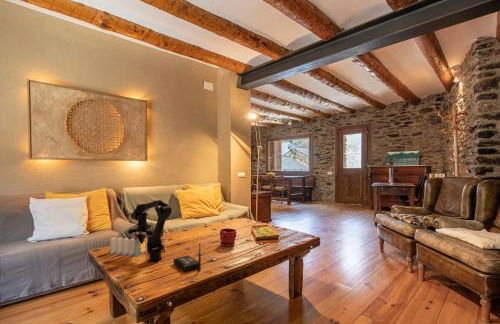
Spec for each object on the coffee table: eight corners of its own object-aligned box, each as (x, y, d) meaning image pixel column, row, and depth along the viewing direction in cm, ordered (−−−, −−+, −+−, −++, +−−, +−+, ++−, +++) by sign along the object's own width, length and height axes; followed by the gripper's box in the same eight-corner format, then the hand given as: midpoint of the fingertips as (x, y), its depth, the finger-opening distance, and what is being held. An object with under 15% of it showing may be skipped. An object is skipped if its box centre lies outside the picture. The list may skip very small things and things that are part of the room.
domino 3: (134, 252, 181) (134, 238, 181) (129, 254, 176) (129, 240, 176) (132, 252, 181) (133, 238, 181) (128, 254, 176) (128, 240, 176)
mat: (144, 253, 181) (144, 252, 181) (136, 257, 173) (136, 256, 173) (114, 250, 187) (114, 249, 187) (105, 254, 178) (105, 253, 178)
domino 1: (122, 251, 183) (122, 237, 183) (117, 253, 178) (117, 239, 178) (120, 251, 183) (121, 237, 183) (115, 253, 178) (115, 239, 178)
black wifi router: (171, 265, 160) (171, 238, 160) (190, 260, 169) (191, 234, 169) (185, 276, 145) (185, 246, 145) (206, 269, 154) (206, 242, 154)
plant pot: (228, 248, 191) (228, 233, 191) (216, 245, 199) (216, 230, 199) (239, 244, 201) (239, 229, 201) (227, 241, 209) (227, 227, 209)
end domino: (116, 250, 184) (116, 237, 184) (111, 253, 179) (111, 239, 179) (115, 250, 184) (115, 237, 184) (109, 253, 179) (109, 239, 179)
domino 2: (128, 251, 182) (128, 238, 182) (123, 254, 177) (123, 240, 177) (126, 251, 182) (126, 237, 182) (122, 254, 177) (122, 240, 177)
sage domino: (140, 252, 180) (140, 238, 180) (136, 255, 175) (136, 241, 175) (138, 252, 180) (138, 238, 180) (134, 255, 175) (134, 240, 175)
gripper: (160, 219, 183) (160, 241, 183) (138, 218, 187) (137, 239, 187) (151, 223, 172) (151, 246, 172) (127, 221, 176) (127, 244, 176)
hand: (141, 243), depth 177 cm, fingers closed
